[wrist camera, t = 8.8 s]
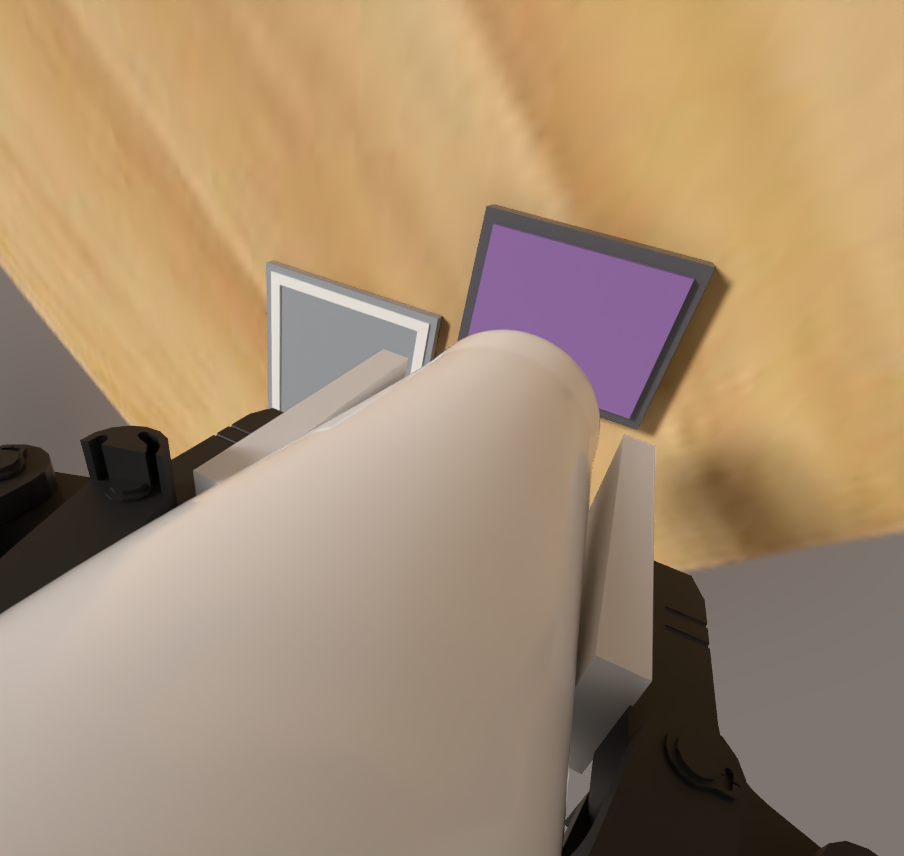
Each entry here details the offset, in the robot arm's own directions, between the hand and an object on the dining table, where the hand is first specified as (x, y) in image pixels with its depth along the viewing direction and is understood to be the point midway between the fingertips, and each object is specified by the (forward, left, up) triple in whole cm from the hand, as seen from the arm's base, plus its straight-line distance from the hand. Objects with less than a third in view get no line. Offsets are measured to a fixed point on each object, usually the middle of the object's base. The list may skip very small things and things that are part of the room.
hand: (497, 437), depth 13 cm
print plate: (-12, -7, -13) cm, 19 cm away
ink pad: (0, 0, -13) cm, 13 cm away
